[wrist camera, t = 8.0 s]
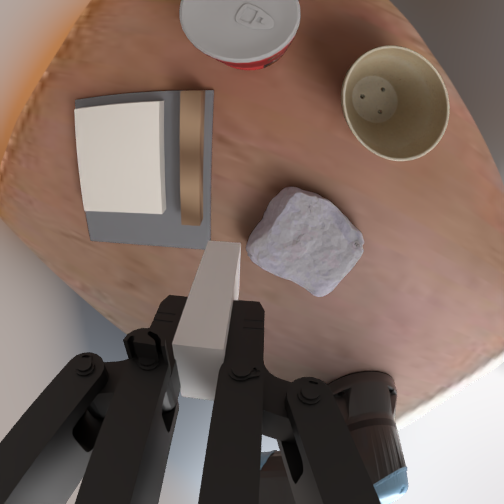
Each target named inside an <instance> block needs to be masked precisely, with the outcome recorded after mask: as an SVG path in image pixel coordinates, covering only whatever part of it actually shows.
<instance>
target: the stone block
mask: <svg viewBox="0 0 504 504" xmlns="http://www.w3.org/2000/svg"><path fill="white" fill-rule="evenodd" d="M363 244H364V239H363V236H362V233H361V232H360V231H359V230H358V229H357V228H356V227H355V226H354V225H353V224H352V223H351V222H350V221H349V220H348V218H347V217H346V216H345V215H343V213H342V212H341V211H340V210H339V209H338V208H337V207H336V206H335V205H334V204H333V203H332V202H331V201H329V200H328V199H325V198H323V197H322V196H320V195H318V194H317V193H313V192H309V191H305V190H302V189H300V188H298V187H285V188H284V189H282V190H281V191H280V193H279V194H278V195H276V196H275V197H274V198H273V199H272V200H271V201H270V202H269V205H268V207H267V209H266V211H265V212H264V216H263V218H262V220H261V221H260V222H259V223H258V225H257V226H256V227H255V229H254V230H253V232H252V233H251V235H250V236H249V239H248V242H247V245H246V251H247V252H248V256H249V257H250V259H251V260H252V262H254V263H255V264H257V265H258V266H260V267H261V268H262V269H264V270H266V271H268V272H270V273H272V274H274V275H276V276H279V277H281V278H284V279H288V280H290V281H293V282H295V283H297V284H298V285H300V286H301V287H304V288H305V289H306V290H308V291H309V292H310V293H311V294H312V295H314V296H317V297H322V296H325V295H327V294H328V293H329V292H331V291H333V289H334V288H335V287H336V286H337V285H338V283H339V282H340V281H341V280H342V279H343V278H344V277H345V276H346V274H347V273H348V272H349V271H350V270H351V269H352V268H353V267H354V265H355V264H356V262H357V261H358V260H359V259H360V257H361V255H362V253H363V251H364V250H363V248H362V245H363Z"/></svg>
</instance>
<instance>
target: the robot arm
mask: <svg viewBox="0 0 504 504" xmlns="http://www.w3.org/2000/svg"><path fill="white" fill-rule="evenodd" d="M240 255H241V243H236V242H221V241H208V243H207V246H206V248H205V251H204V254H203V257H202V259H201V262H200V265H199V267H198V270H197V273H196V276H195V279H194V281H193V284H192V287H191V290H190V293H189V296H188V297H184V296H174V295H169V296H168V297H167V298H166V299H164V300H163V301H162V302H161V304H160V306H159V308H158V310H157V313H156V315H155V317H154V321H153V322H152V324H151V326H150V328H141V329H137V330H134V331H132V332H131V333H129V334H127V336H126V337H125V338H124V339H123V341H124V345H125V348H126V351H127V355H128V358H129V359H127V360H124V361H118V362H103V360H102V358H101V357H100V356H98V355H97V354H94V353H90V352H89V353H82V354H79V355H76V356H75V357H74V358H73V359H71V360H70V361H69V362H68V364H67V365H66V366H65V367H64V368H63V369H62V370H61V371H60V373H59V374H58V375H57V376H56V377H55V378H54V379H53V380H52V382H51V383H50V384H49V385H48V386H47V387H46V388H45V390H44V391H43V392H42V393H41V394H40V395H39V397H38V398H37V399H36V400H35V401H34V402H33V404H32V405H31V406H30V407H29V408H28V410H27V411H26V412H25V413H24V414H23V415H22V417H21V418H20V419H19V421H18V422H17V423H16V424H15V425H14V426H13V428H12V429H11V430H10V431H9V433H8V434H7V435H6V436H5V438H4V439H3V440H2V441H1V443H0V504H66V502H67V501H68V499H69V498H70V496H71V495H72V493H73V492H74V490H75V489H76V487H77V486H78V484H79V482H80V481H81V479H82V478H83V480H82V483H81V486H80V489H79V492H78V495H77V499H76V502H75V504H158V502H159V497H160V492H161V488H162V483H163V478H164V473H165V469H166V464H167V459H168V455H169V450H170V445H171V441H172V437H173V432H174V428H175V424H176V419H177V415H178V411H179V404H178V396H179V392H180V391H181V395H182V397H189V398H197V399H205V400H214V405H213V411H212V417H211V423H210V430H209V436H208V443H207V449H206V455H205V462H204V468H203V475H202V481H201V488H200V495H199V502H198V504H390V503H392V502H394V501H396V500H398V499H399V498H400V497H402V496H403V495H404V494H405V493H406V491H407V489H408V479H407V472H406V471H407V467H406V465H405V461H404V457H403V452H402V448H401V444H400V439H399V435H398V431H397V428H396V423H395V412H396V401H397V390H396V386H395V383H394V380H393V379H392V378H391V377H390V376H389V375H387V374H385V373H381V372H360V373H355V374H351V375H348V376H345V377H342V378H340V379H337V380H335V381H334V382H332V383H330V384H329V385H327V384H326V383H324V382H323V381H321V380H320V379H316V378H313V377H302V378H300V379H297V380H295V381H293V382H292V383H291V382H288V381H285V380H282V379H279V378H277V377H275V376H273V375H272V374H271V373H269V371H268V370H267V369H266V367H265V365H264V361H263V351H264V313H265V311H264V309H263V307H262V306H261V304H260V302H254V301H240V300H238V296H239V280H240ZM262 434H263V435H265V436H268V437H271V438H274V439H277V442H278V446H279V449H280V451H277V450H273V451H271V452H261V440H262ZM83 476H84V477H83Z"/></svg>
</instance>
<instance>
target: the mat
mask: <svg viewBox="0 0 504 504" xmlns="http://www.w3.org/2000/svg"><path fill="white" fill-rule="evenodd" d="M180 91H185V90H179V91H155V92H140V93H127V94H117V95H108V96H100V97H92V98H85V99H78V100H75V109H78V108H82V107H90V106H98V105H107V104H117V103H129V102H144V101H164V157H165V189H166V210H165V211H164V213H163V214H147V213H125V212H99V211H85V212H86V218H87V223H88V229H89V234H90V240H91V241H100V242H113V243H126V244H139V245H152V246H165V247H178V248H191V249H204V250H205V248H206V246H207V243H208V241H211V160H212V126H213V101H214V90H205V115H204V155H203V220H202V222H201V224H200V226H191V225H181V199H180Z"/></svg>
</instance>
